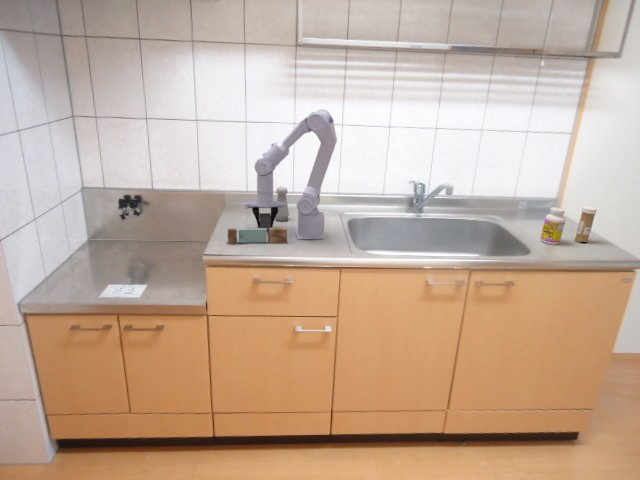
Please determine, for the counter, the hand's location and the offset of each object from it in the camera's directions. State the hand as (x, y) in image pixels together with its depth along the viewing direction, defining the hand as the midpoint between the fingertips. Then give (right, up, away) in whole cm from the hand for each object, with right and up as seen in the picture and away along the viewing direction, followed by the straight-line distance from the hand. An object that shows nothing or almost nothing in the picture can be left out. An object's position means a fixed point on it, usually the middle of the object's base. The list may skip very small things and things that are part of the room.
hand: (265, 226), depth 166 cm
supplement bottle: (+106, -6, +3) cm, 106 cm away
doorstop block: (0, -1, +1) cm, 1 cm away
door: (-3, -6, -12) cm, 13 cm away
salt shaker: (+5, +3, +13) cm, 14 cm away
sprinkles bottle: (+119, -6, +5) cm, 119 cm away
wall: (-1, -6, -11) cm, 12 cm away
